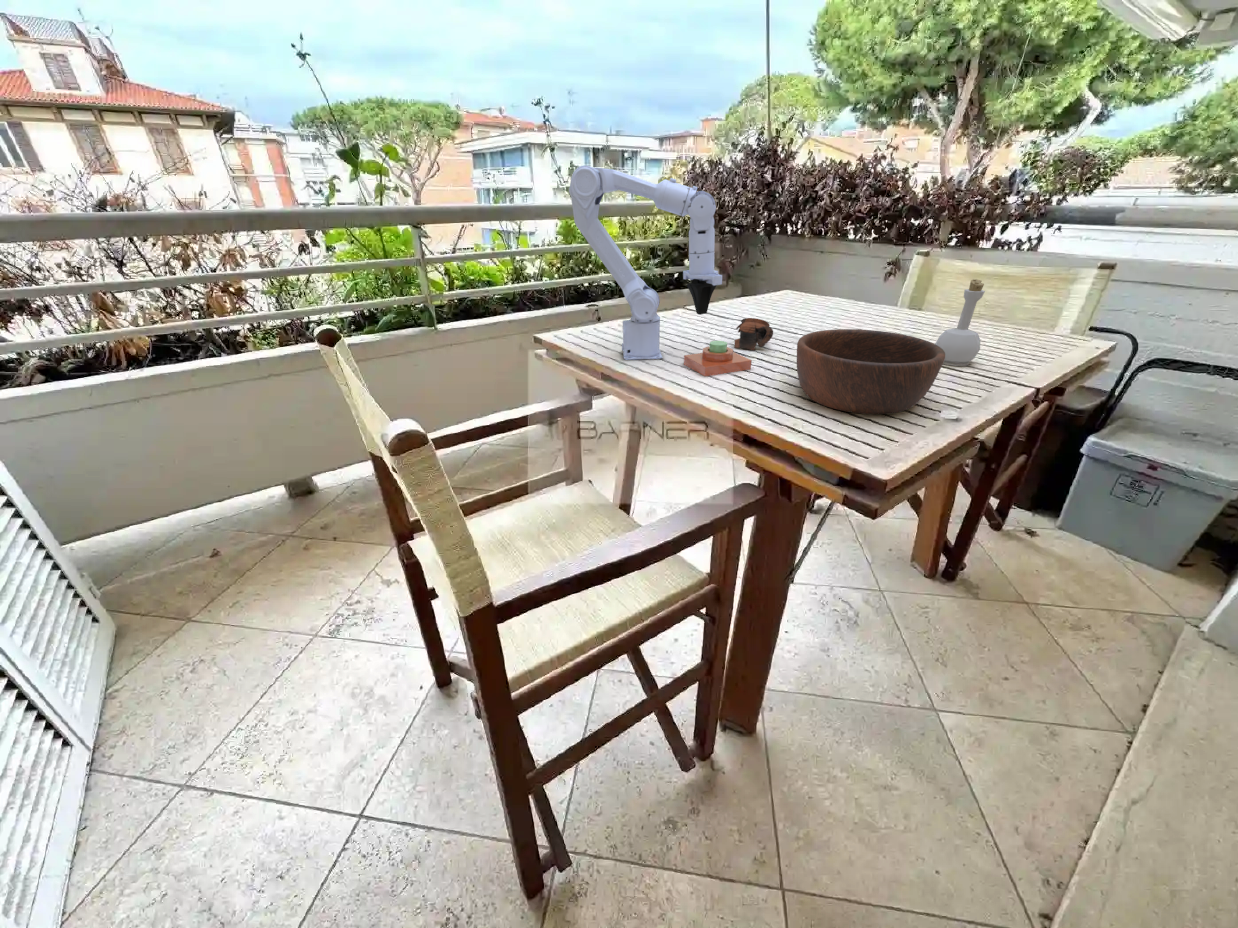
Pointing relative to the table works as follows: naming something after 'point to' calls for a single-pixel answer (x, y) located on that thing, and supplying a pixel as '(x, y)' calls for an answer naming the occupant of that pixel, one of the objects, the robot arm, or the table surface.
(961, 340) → the potion bottle
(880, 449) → the table surface
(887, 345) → the wooden bowl
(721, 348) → the green button cap
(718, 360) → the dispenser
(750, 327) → the pottery mug
